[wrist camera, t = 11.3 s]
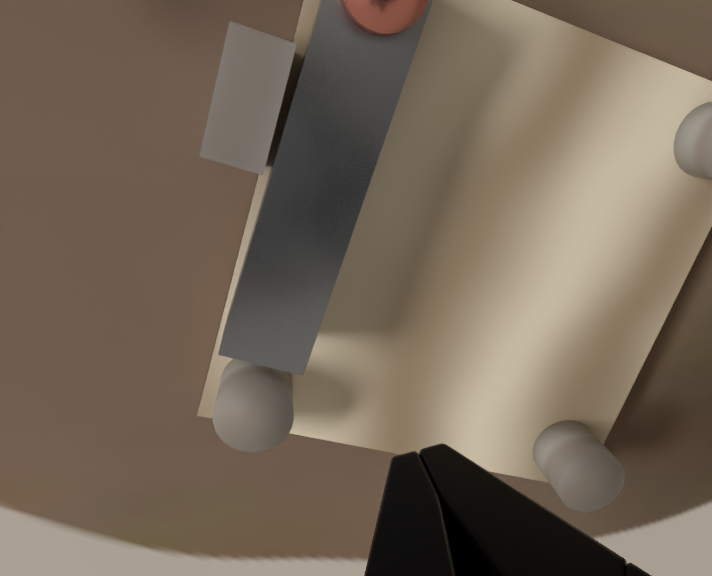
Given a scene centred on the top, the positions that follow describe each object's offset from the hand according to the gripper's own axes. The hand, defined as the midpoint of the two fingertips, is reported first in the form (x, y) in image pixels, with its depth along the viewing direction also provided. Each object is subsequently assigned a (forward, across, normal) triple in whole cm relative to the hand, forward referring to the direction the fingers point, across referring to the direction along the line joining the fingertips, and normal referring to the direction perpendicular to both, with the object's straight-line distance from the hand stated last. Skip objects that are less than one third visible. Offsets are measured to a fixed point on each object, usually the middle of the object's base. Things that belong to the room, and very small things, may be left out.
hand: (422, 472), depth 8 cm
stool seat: (+10, -4, 0) cm, 11 cm away
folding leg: (+8, 0, -4) cm, 9 cm away
